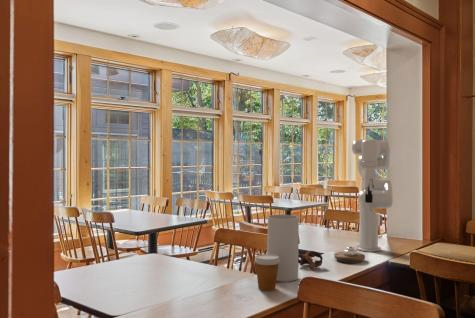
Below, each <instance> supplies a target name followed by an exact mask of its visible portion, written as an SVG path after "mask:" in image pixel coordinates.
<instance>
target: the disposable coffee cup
mask: <svg viewBox="0 0 475 318" xmlns="http://www.w3.org/2000/svg"><path fill="white" fill-rule="evenodd" d="M253 260H254V262H255V269H256V270H255V271H256V277H257V278H256V279H257V286H258V290H260V291H264V292H272V291H275V290H276V285H277V281H276V279H277V272H278V264H279V262H280V260H279V257H278V256H277V255H272V254H267V253H262V254H257V255H255V258H254V259H253Z"/></svg>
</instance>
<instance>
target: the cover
mask: <svg viewBox="0 0 475 318" xmlns="http://www.w3.org/2000/svg"><path fill="white" fill-rule="evenodd" d="M343 252H344V256H349V257H355V256H357V253H358V249H355V247H354V246H346V248H345V249H343Z"/></svg>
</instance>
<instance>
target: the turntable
mask: <svg viewBox="0 0 475 318" xmlns="http://www.w3.org/2000/svg"><path fill="white" fill-rule="evenodd" d="M334 258H335V259H336V260H337V261H338V262H341V263H346V264H358V263H361V262H362V261H365V259H366V254H364V253H360V252H357V256H355V257H349V256H344V251H339V252H338V251H337V252H335V253H334Z"/></svg>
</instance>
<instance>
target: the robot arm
mask: <svg viewBox="0 0 475 318" xmlns="http://www.w3.org/2000/svg"><path fill="white" fill-rule="evenodd" d="M390 149H391V148H390V143H389V142H388V141H387V140H384V139H382V140H378V139H354V140H353V142H352V143H351V151H352V153H353V155H359V156H358V158H357V163H356V164H357V170H358V173H359V175H360V178H361V184H360V185H361V190H360V191H359V193H358V194H357V195H358V196H357V200H358V201H357V202H358V207H359V227H358V228H359V229H358V231H359V232H358V233H359V234H358V235H359V236H358V237H359V241H358V242H359V245H356V246H355V248H356V249H355V250H357V251H362V252H375V253H376V252H381V251H382V248H381V247H380V246H379V216H378V213H377V212H376V211H375V210H374V209H390V208H392V206H393V202H394V199H393V198H394V197H393V185H392V182H391V180H390V179H388V178H378V176H377V173H376V170H386V169H388V168H389V167H390V156H391V155H390V151H391V150H390Z"/></svg>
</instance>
